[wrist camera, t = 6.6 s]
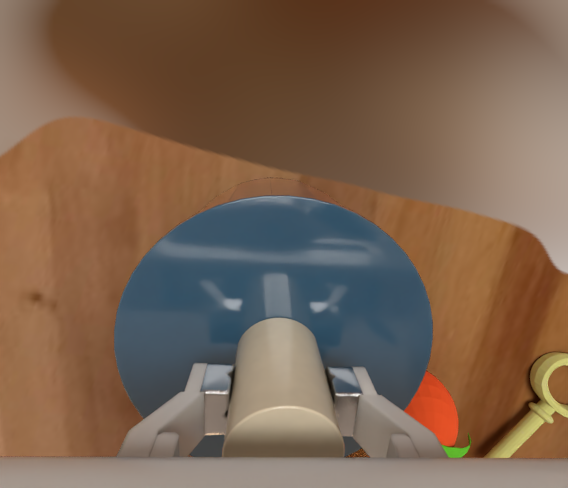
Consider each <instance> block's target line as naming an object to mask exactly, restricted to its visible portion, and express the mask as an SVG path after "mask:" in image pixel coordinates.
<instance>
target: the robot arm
mask: <svg viewBox="0 0 568 488" xmlns="http://www.w3.org/2000/svg"><path fill="white" fill-rule="evenodd" d="M233 373H234V364H216V363H194V365H193V367H192V370H191V373H190V376H189V379H188V382H187V385H186V388H185V391H184V392H179V393H178V394H177V395H175V396H174V397H173V398H171V399H170V400H169V401H167V402H166V403H165V404H163V405H162V406H161V407H159V408H158V409H157V410H155V411H154V412H153V413H151V414H150V415H149V416H147V417H146V418H145V419H144V420H142V421H141V422H140V423H138V424H137V425H136V426H134V427H133V428H132V429H130V430H129V431H128V433H127V435H126V437H125V439H124V441H123V444H122V446H121V448H120V450H119V452H118V454H117V456H116V457H34V456H0V488H568V458H449V457H448V455H447V454H446V452H445V450H444V449H443V447H442V445H441V443H440V442H439V440H438V438H437V437H436V435H435V433H433V432H432V431H430V430H429V429H428V428H426V427H425V426H423V425H422V424H421V423H419V422H418V421H417V420H415V419H414V418H412V417H411V416H410V415H408V414H407V413H405V412H404V411H403V410H401V409H400V408H398V407H397V406H396V405H394V404H393V403H392V402H390V401H389V400H387V399H386V398H385V397H383V396H382V395H378V394H377V392H376V390H375V388H374V386H373V384H372V381H371V379H370V377H369V375H368V373H367V371H366V369H365V367H326V369H325V373H326V377H327V380H328V384H329V388H330V392H331V395H332V399H333V403H334V407H335V410H336V414H337V418H338V421H339V425H340V429H341V433H342V436H351V437H353V438H354V440H355V441H356V442H357V443H358V444H359V445H360V446H361V447H362V449H363V450H364V451H365V452H366V453H367V454H368V455H369V456H370V458H357V457H187V456H188V455H189V454H190V453H191V452H192V451H193V449H194V448H195V447H196V446H197V445H198V443H199V442H200V441H201V440H202V439H203V437H204V435H225V428H226V420H227V413H228V407H229V402H230V395H231V385H232V380H233Z"/></svg>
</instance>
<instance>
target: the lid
mask: <svg viewBox="0 0 568 488" xmlns="http://www.w3.org/2000/svg"><path fill="white" fill-rule="evenodd" d="M432 340H433V321H432V315H431V308H430V302H429V299H428V296H427V292H426V289H425V286H424V284H423V282H422V280H421V278H420V275H419V273H418V271H417V269H416V268H415V266H414V265H413V263H412V262H411V260H410V259H409V257H408V256H407V254H406V253H405V252H404V251H403V250H402V248H401V247H400V246H399V245H398V244H397V243H396V242H395V241H394V240H393V239H392V238H391V237H390V236H389V235H388V234H386V233H385V232H384V231H383V230H381V229H380V228H379V227H378V226H376V225H375V224H374V223H372V222H371V221H369V220H368V219H366V218H364V217H363V216H361V215H359V214H358V213H356V212H354V211H352V210H350V209H348V208H345V207H343V206H340V205H338V204H336V203H333V202H330V201H326V200H322V199H319V198H315V197H311V196H304V195H296V194H259V195H252V196H244V197H240V198H236V199H232V200H229V201H225V202H221V203H219V204H216V205H214V206H211V207H209V208H207V209H204V210H202V211H200V212H198V213H196V214H194V215H193V216H191V217H189V218H188V219H186V220H184V221H183V222H181V223H179V224H178V225H177V226H176V227H174V228H173V229H172V230H171V231H169V232H168V233H167V234H166V235H164V236H163V237H162V238H161V239H160V240H159V241H158V242H157V243H156V244H155V245H154V246H153V247H152V248H151V249H150V250H149V251H148V252H147V253H146V255H145V256H144V257H143V258H142V260H141V261H140V263H139V264H138V266H137V267H136V268H135V270H134V271H133V273H132V275H131V277H130V279H129V281H128V283H127V285H126V287H125V289H124V291H123V293H122V297H121V300H120V303H119V306H118V309H117V315H116V322H115V328H114V350H115V356H116V362H117V368H118V371H119V374H120V377H121V380H122V383H123V386H124V388H125V390H126V392H127V394H128V396H129V398H130V400H131V402H132V403H133V405H134V406H135V408H136V409H137V411H138V412H139V413H140V415H141V416H142V417H143V418H144V419H145V418H146V417H147V416H149V415H150V414H151V413H153V412H154V411H155V410H157V409H158V408H159V407H161V406H162V405H163V404H165V403H166V402H167V401H169V400H170V399H171V398H173V397H174V396H175V395H177V394H178V393H179V392H184V391H185V388H186V385H187V382H188V379H189V376H190V373H191V370H192V367H193V365H194V363H216V364H234V373H233V380H232V385H231V395H230V402H229V407H228V413H227V420H226V428H225V435H204V437H203V439H202V440H201V441H200V442H199V443H198V445H197V446H196V447H195V448H194V449H193V451H192V452H191V453H190V454H189V455H191V456H193V457H346V456H348V455H350V454H352V453H354V452H356V451H358V450H359V449H361V448H362V447H361V446H360V445H359V444H358V443H357V442H356V441H355V440H354V438H353V437H351V436H342V433H341V429H340V425H339V421H338V418H337V414H336V410H335V407H334V403H333V399H332V395H331V392H330V388H329V384H328V380H327V377H326V373H325V369H326V367H365V369H366V371H367V373H368V375H369V377H370V379H371V381H372V384H373V386H374V388H375V390H376V392H377V394H378V395H382V396H383V397H385V398H386V399H387V400H389V401H390V402H392V403H393V404H394V405H396V406H397V407H398V408H400V409H401V410H403V411H404V410H405V409H406V408H407V407H408V405H409V404H410V402H411V400H412V399H413V397H414V396H415V394H416V392H417V391H418V389H419V386H420V384H421V382H422V380H423V378H424V375H425V372H426V369H427V366H428V362H429V359H430V354H431V347H432Z"/></svg>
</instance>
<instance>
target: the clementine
mask: <svg viewBox="0 0 568 488" xmlns="http://www.w3.org/2000/svg"><path fill="white" fill-rule="evenodd" d="M404 412H405V413H407V414H408V415H410V416H411V417H412V418H414V419H415V420H417V421H418V422H419V423H421V424H422V425H423V426H425V427H426V428H428V429H429V430H430V431H432V432H433V433H435V435H436V437H437V438H438V440H439V442H440V443H441V445H442V447H443V449H444V450H445V452H446V454H447V455H448V457H449V458H461V457H462V456H463V455H465V454H466V453H467V451H468V449H469V447H470V445H471V439H470V436H469V433H468V439H469V446H467V447H465V448H455V447H454V445H455V442H456V438H457V434H458V415H457V410H456V407H455V404H454V401H453V399H452V397H451V396H450V394H449V392H448V390H447V389H446V388H445V387H444V385H443V384H442V383H441V382H440V381H439V380H438V379H437V378H436V377H435V376H433V375H432V374H430V373H429V372H427V371H426V372H425V375H424V378H423V380H422V382H421V384H420V386H419V389H418V391H417V392H416V394H415V396H414V397H413V399H412V400H411V402H410V404H409V405H408V407H407V408H406V409H405V410H404Z"/></svg>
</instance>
